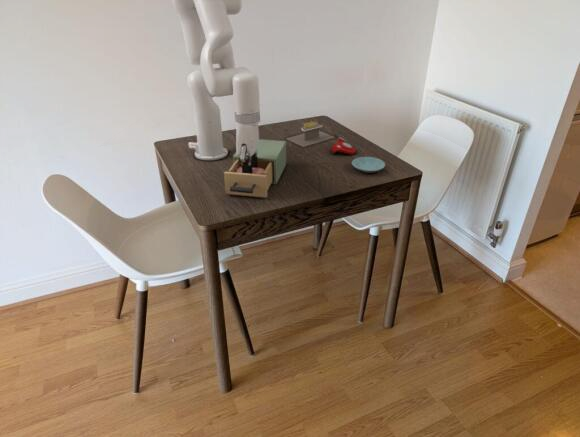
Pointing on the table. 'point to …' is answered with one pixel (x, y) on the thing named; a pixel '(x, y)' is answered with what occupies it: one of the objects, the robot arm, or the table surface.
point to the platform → (310, 135)
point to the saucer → (368, 164)
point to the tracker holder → (343, 147)
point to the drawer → (249, 180)
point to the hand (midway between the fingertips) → (250, 171)
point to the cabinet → (271, 155)
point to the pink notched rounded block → (254, 170)
